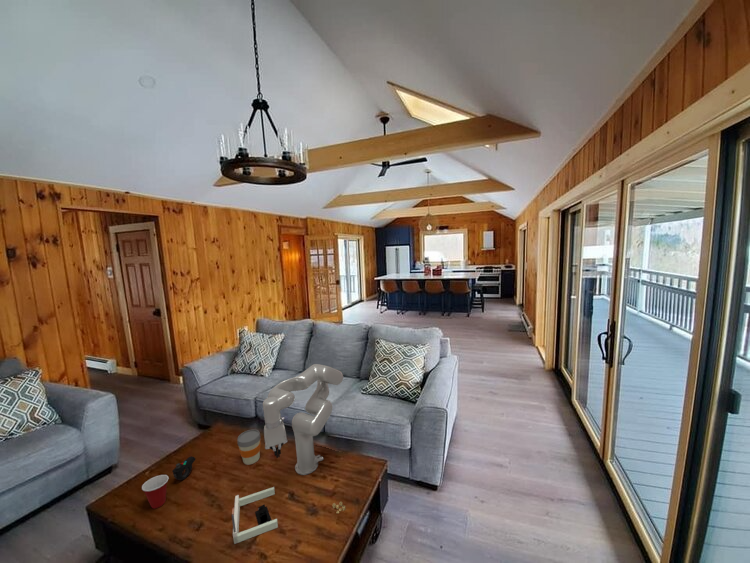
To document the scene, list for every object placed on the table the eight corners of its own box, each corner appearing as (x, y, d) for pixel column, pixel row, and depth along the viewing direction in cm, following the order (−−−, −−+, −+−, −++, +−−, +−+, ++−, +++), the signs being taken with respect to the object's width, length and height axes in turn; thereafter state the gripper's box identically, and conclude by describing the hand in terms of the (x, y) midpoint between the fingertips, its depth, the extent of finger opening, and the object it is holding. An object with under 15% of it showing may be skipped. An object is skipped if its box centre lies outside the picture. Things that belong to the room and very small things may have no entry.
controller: (172, 484, 162) (170, 467, 161) (192, 467, 174) (189, 451, 173) (179, 485, 161) (176, 468, 160) (198, 468, 173) (195, 452, 171)
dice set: (332, 507, 143) (332, 503, 143) (342, 503, 145) (342, 499, 145) (335, 516, 138) (335, 512, 138) (346, 511, 140) (345, 507, 140)
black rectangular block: (252, 511, 143) (251, 502, 143) (268, 504, 147) (267, 495, 146) (258, 531, 133) (256, 522, 132) (274, 522, 137) (273, 513, 136)
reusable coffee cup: (254, 449, 187) (252, 426, 185) (267, 456, 179) (264, 433, 177) (235, 461, 177) (232, 438, 175) (247, 470, 169) (244, 445, 167)
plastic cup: (177, 496, 154) (173, 475, 152) (157, 514, 144) (153, 492, 142) (160, 492, 157) (157, 471, 155) (139, 510, 147) (135, 488, 145)
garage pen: (274, 492, 153) (272, 468, 151) (277, 527, 134) (274, 501, 132) (236, 505, 147) (233, 481, 145) (234, 544, 127) (230, 516, 125)
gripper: (287, 414, 154) (291, 446, 157) (256, 423, 148) (261, 456, 151) (290, 421, 148) (294, 455, 150) (257, 431, 142) (262, 466, 145)
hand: (278, 455), depth 151 cm, fingers closed
